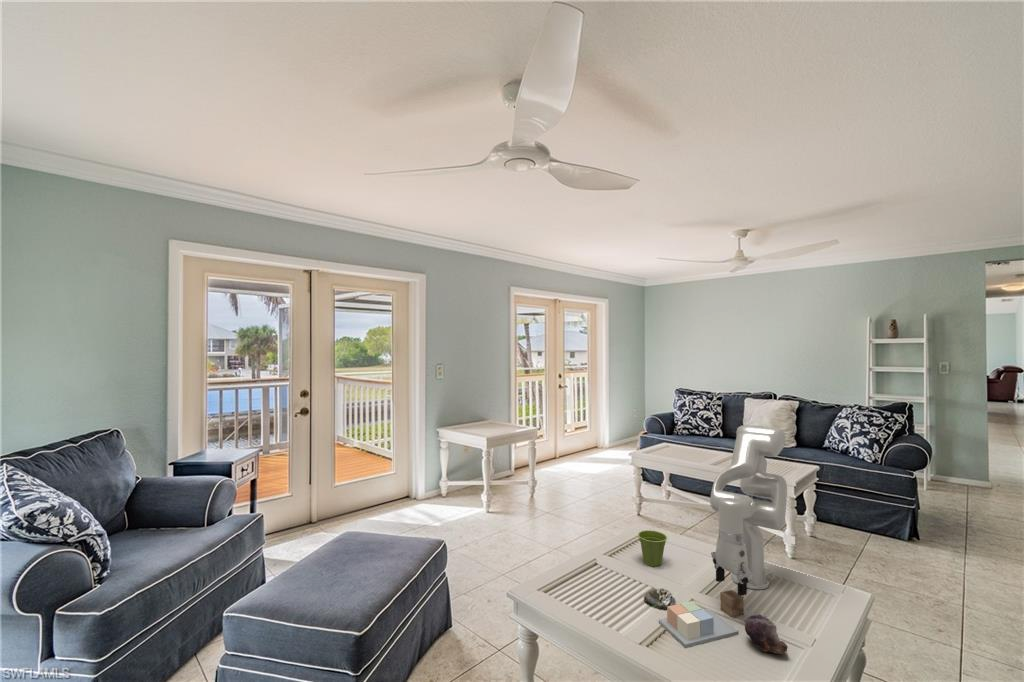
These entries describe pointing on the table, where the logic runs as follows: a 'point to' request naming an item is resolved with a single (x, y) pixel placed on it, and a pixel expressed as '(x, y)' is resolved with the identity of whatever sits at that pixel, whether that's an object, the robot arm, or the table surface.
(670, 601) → the grey oval shell
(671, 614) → the terracotta block
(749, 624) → the rock
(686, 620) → the cream block
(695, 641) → the assembly board
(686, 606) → the sage block
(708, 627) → the blue block
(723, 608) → the walnut block
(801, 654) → the table surface
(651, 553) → the plant pot
